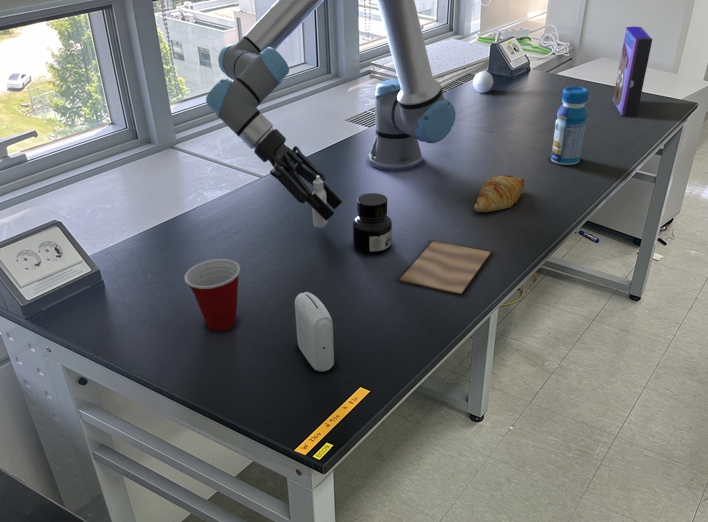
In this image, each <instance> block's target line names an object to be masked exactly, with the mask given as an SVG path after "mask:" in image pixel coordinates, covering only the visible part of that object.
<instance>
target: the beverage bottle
mask: <svg viewBox="0 0 708 522" xmlns="http://www.w3.org/2000/svg"><path fill="white" fill-rule="evenodd" d="M589 93H590V92H589V89H588V88H586V87H583V86H567V87H564V88H563V91H562V96H561V102H562V104H561V105H560V107H559V108H558V110H557V113H556V117H557V119H556V120H555V122H554V134H553V142H552V149H551V153H550V160H551V162H553V163H554V164H556V165H561V166H573V165H576V164H578V163H580V162H581V156H582V155H581V154H582V151H583V150H582V149H583V145H584V139H585V138H584V137H585V133H586V128H587V118H588V115H589V114H588V109H587V107H586V105H585V104H587V102H588V99H589Z"/></svg>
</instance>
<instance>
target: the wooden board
mask: <svg viewBox="0 0 708 522" xmlns="http://www.w3.org/2000/svg"><path fill="white" fill-rule="evenodd" d="M491 254H492V251H487V250H484V249H478V248H472V247H467V246H461V245H457V244H452V243H448V242H447V243H446V242H441V241H437V240H432V242H431V243H430V244H429V245H428V247H426V248H425V249H424V251H423V252H422V253H421V254H420V255H419V257H417V259H416V260H415V261H414V262H413V264H411V266H410V267H409V268H408V269H407V270H406V272H404V273H403V275H402V276H401V277H400V278H399V279H398V280H399V282H402V283H406V284H410V285H415V286H419V287H424V288H428V289H432V290H437V291H442V292H447V293H451V294H456V295H460V296H461V295H463V293H464V292H465V290H466V288H467V287H468V286H469V285H470V283H471V282H472V281H473V280H474V278H475V276H476V275H477V274H478V272H479V270H481V268H482V267H483V265H484V264H485V262H486V261H487V260H488V258H489V257H490V255H491Z"/></svg>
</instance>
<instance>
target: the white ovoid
mask: <svg viewBox="0 0 708 522" xmlns="http://www.w3.org/2000/svg"><path fill="white" fill-rule="evenodd" d="M472 86H473V88H474V90H475V91H476V92H478V93H480V94H485V93H487V92H489V91H490V90H491V89H492V87H493V86H494V78H493V75H492V74H491V73H490V72H489V71H485V70H482V71H480V72H477V73H476V74H475V76H474V77H473V79H472Z"/></svg>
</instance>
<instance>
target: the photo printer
mask: <svg viewBox="0 0 708 522" xmlns="http://www.w3.org/2000/svg"><path fill="white" fill-rule="evenodd" d="M294 313H295V326H296V341H297V345H298V349H299V350H300V352H301V353H302V355H303V356H304V357H305V359H306V361H307V362H308V363H309V365H310V366H311V367H312V368H313V370H315V371H318V372H327V371H329V370H330V369H332V367H333V366H334V365H335V356H334V355H335V352H334V351H335V350H334V347H335V346H334V329H333V328H334V325H333V324H334V323H333V319H332V316H331V315H330V313H329V311H328V309H327V307H326V306H325V305H324V303H323V302H322V301H321V300H320V299H319V298H318V297H317V296H316V295H314V294H313V293H311V292H309V291H304V292H299V294H298V295H296V297H295V299H294Z"/></svg>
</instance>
